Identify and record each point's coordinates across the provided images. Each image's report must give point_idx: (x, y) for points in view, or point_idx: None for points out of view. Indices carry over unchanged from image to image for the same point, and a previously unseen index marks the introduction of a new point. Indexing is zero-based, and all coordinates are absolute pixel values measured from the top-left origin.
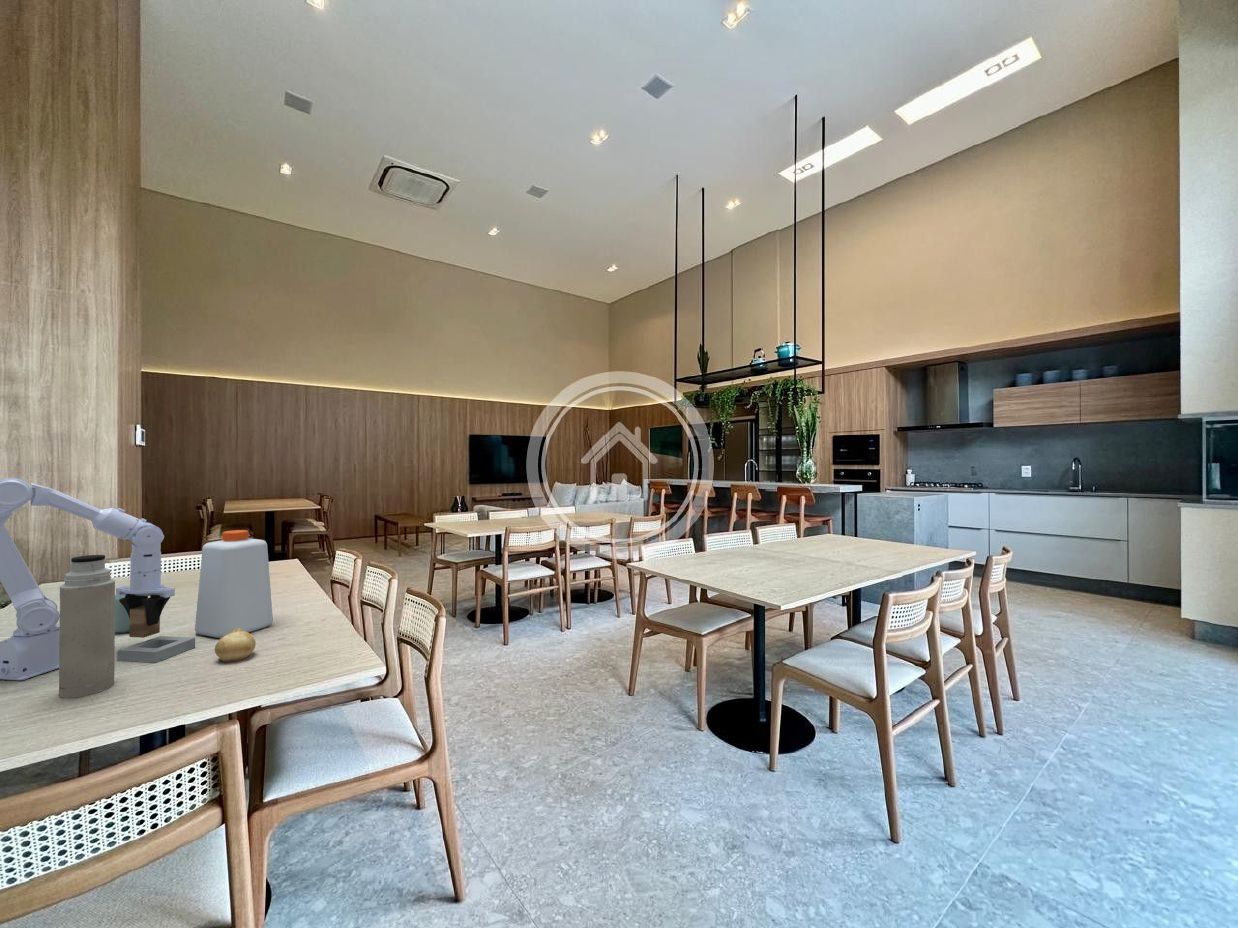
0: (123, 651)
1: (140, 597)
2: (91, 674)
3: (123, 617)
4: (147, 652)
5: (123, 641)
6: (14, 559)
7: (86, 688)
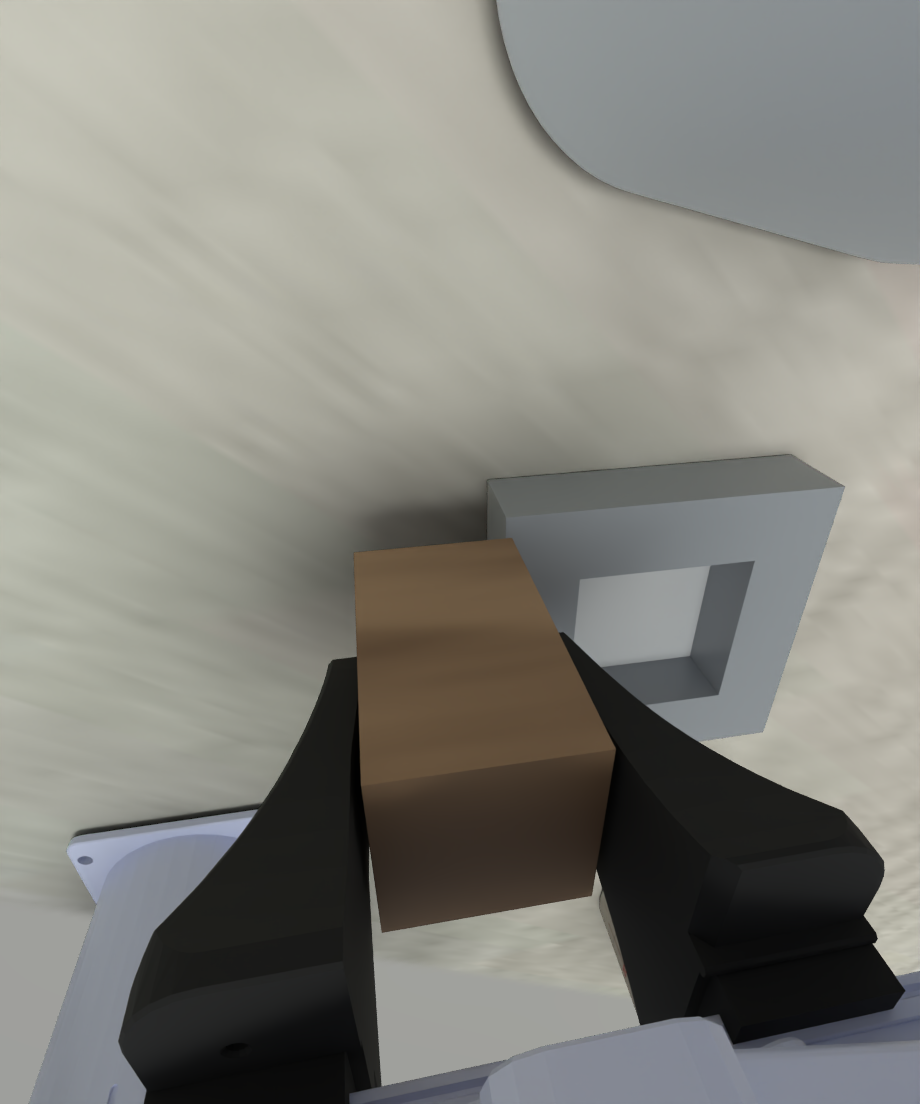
0: None
1: (360, 998)
2: None
3: None
4: (705, 735)
5: (27, 467)
6: None
7: None
